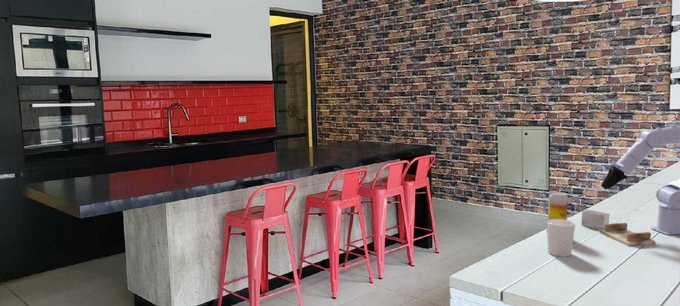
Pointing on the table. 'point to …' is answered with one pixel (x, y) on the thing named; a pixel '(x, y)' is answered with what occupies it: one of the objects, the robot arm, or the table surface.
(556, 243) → the white cup
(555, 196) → the beer can
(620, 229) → the birch cradle
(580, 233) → the table surface
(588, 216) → the aluminium block
